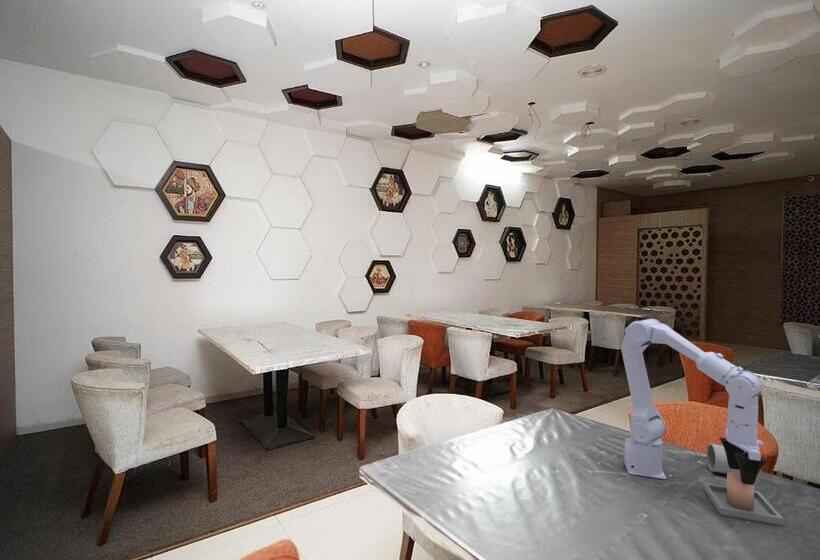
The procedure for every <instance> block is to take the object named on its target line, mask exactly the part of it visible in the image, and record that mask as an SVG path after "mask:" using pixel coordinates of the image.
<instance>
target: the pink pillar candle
mask: <svg viewBox="0 0 820 560" xmlns="http://www.w3.org/2000/svg"><path fill="white" fill-rule="evenodd" d="M726 486H727V503H728V504H729V505H730V506H732V507H734V508H736V509H739V510H745V511H752V510H754V491H755V484H754V485H748V484H743V483H742V481H741V477H740V473H739V472H728V473H727V474H726Z"/></svg>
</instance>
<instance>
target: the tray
mask: <svg viewBox="0 0 820 560" xmlns="http://www.w3.org/2000/svg"><path fill="white" fill-rule="evenodd" d="M702 485H703V487H702V488H703V489H702V490H703V491H704V493H705V495H706V496H707V498H708V499H709V501H710V502H711V504H712V505H713V507H714V508H715V509H716V511H717V512H718V514H719V515H720V516H721V517H727V518H734V519H737V520H738V519H739V520H746V521H751V522H756V523H762V524H767V525H774V526H779V527H784V522H785V521H784V517H783V516H782V515H781V514H780V513H779V512H778V510H776V508H774V506H773V505H772V504H771V503H770V502H769V501H768V500H767V498H765V496H764V495H763V494H762V493H761V492H760V491H758V490H754V510H752V511H745V510H739V509H736V508H734V507H732V506H730V505H729V504H728V503H727V485H720V484H713V483H708V482H707V483H705V482H703V484H702Z"/></svg>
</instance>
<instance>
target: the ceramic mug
mask: <svg viewBox="0 0 820 560" xmlns="http://www.w3.org/2000/svg"><path fill="white" fill-rule="evenodd" d="M706 460H707V466H708V468H709V471H710V472H712V473H719V474H725V475H727V473H728V472H739V473H740V470H737V469H730V468H729V466H728V462H727V457H726V453H725V449H724V447H723V445H722V444H721V445H720V444H715V443H709V444H708V445H707V449H706Z"/></svg>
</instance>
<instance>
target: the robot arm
mask: <svg viewBox="0 0 820 560" xmlns="http://www.w3.org/2000/svg"><path fill="white" fill-rule="evenodd" d="M650 344H663V345H667V346H669V347H670V348H672V349H674V350H675V351H676V352H679V353H680V354H682V355H683V356H685V357H687V358H688V359H690V360H692V361H694V362H695V365H696V367H697V368H696V369H697V370H699V371H700V372H702V373H704V375H706V376H707V377H709V378H710V379H712V380H714V381H715V382H717V383H718V384H720V385H721V386H724V388H725V390H726V392H727V394H728V400H727V401H728V402H727V403H728V405H727V427H725V434H724V435H725V437H720V438H719V441H720V442H721V446H723V447H724V449H725V453H726V457H727V462H728V466H729V468H730V469H737V470H740V477H741V481H742V483H743V484H748V485H754V486H755V482H756V480H757V478H758V474H759V472H760V471H761V469H762V468H763V467H764V466H765V465H767V460H766V459H765V457H762V456H761V455H762V453H761V451H760V449H759V446H761V447H763V446H764V442H763V441H761V440H760V439H758V424H759V395H758V394H759V393H760V391H761V390H762V387H763V386H762V384H763V383H762V380H761V379H760V378H759V377H758V375H756V374H755V373H754V372H752V371H748V370H744V368H743V367H741V366H736V365H735V364H733V363H731V362H730V361H728V360H726V359H725V358H724V355H723V354H722V353H719V352H717V353H716V352H714V351H706V352H705V351H703V350H702V349H701V348H699V347H698V346H697V345H695V344H693V343H692V342H691V341H689V340H688V339H686V338H685V337H683V336H682V335H680V334H679V333H678V332H676V331H675V330H673V329H672V328H671V327H670V326H669V325H667V324H665V323H661V321H659V320H658V319H655V318H647V319H643V320H635V321H632V322H631V323H629V325H627V327H625V329H624V337H623V339H622V342H621V347H620V349H621V350H620V351H621V354H622V360H623V364H624V369H625V374H626V378H627V383H628V388H629V392H630V397H631V402H632V406H633V408H632V411H631V414H630V426H629V432H630V435H631V436H632V437H626V438H625V439H624V461H623V462H624V466H625V468H626V472H627V473H628V474H629V475H633V476H634V475H635V476H641V477H648V478H653V479H661V480H667V476H666V474H665V472H664V471H663V439H662V436H664V435H665V434H666V433H667V425H666V422H665V421H664V420H663V418H662V416H661V412H660V411H659V409H658V408H657V407H656V406H655V405H654V404H655V403H654V397H653V394H652V391H651V386H650V382H649V377H648V372H647V367H646V363H645V359H644V353H643V352H644V351H645V350H646V349H647V348H648V347H649V346H650Z"/></svg>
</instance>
